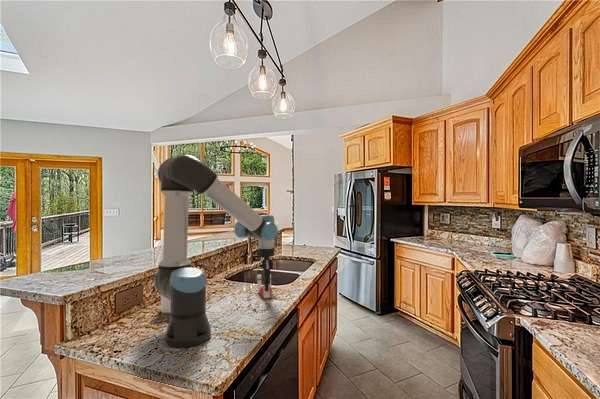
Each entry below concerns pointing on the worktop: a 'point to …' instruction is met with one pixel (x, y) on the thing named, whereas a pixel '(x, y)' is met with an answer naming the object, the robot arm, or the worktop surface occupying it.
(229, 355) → the worktop surface
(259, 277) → the pin
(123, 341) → the worktop surface
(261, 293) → the ball
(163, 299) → the jar
